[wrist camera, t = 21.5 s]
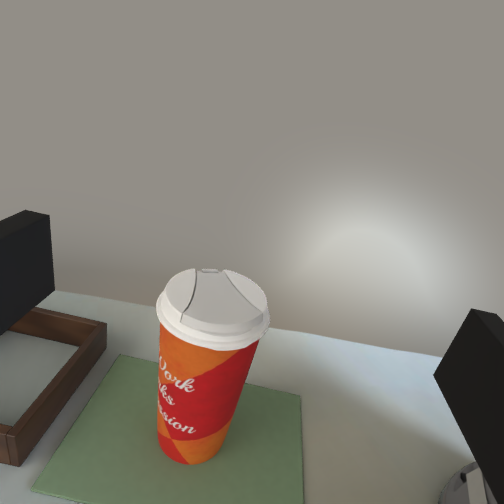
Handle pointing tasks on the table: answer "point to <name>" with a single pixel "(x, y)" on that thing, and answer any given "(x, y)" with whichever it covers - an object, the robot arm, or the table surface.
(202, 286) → the coffee cup
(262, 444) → the mat
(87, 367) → the crate
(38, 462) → the table surface
